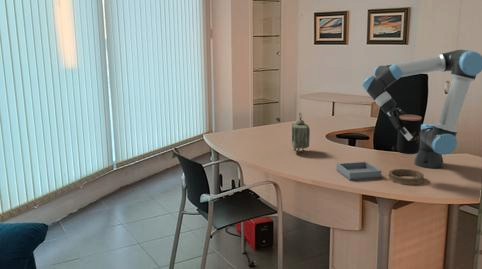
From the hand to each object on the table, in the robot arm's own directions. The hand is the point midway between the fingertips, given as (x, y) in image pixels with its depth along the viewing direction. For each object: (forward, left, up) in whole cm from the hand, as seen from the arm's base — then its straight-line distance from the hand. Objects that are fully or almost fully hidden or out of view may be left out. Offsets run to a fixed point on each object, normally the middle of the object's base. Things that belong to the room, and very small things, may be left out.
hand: (414, 136), depth 236 cm
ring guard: (+2, -2, -23) cm, 23 cm away
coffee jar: (+2, -2, -8) cm, 9 cm away
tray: (+22, -15, -23) cm, 35 cm away
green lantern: (+38, -63, -23) cm, 77 cm away
